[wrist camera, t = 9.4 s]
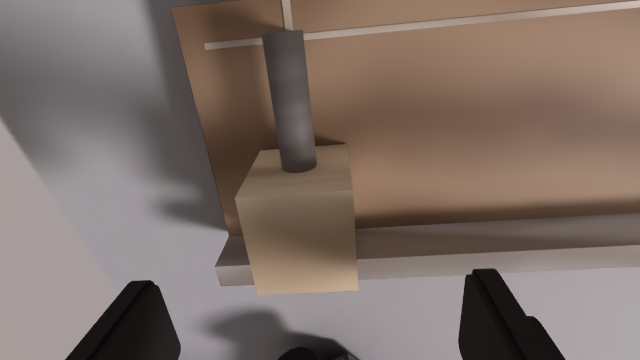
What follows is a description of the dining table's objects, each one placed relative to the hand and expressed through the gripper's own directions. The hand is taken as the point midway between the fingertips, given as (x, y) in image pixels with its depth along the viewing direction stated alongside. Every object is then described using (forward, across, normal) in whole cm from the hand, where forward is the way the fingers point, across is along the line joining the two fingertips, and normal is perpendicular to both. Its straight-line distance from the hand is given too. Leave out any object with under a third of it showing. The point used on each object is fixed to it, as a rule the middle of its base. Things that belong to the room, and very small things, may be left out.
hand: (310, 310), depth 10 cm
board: (+9, -7, -3) cm, 12 cm away
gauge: (+7, +1, -3) cm, 8 cm away
